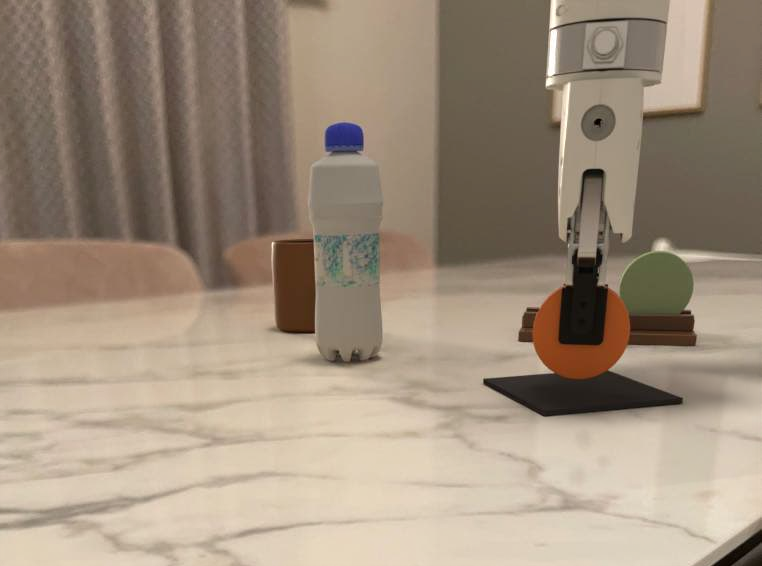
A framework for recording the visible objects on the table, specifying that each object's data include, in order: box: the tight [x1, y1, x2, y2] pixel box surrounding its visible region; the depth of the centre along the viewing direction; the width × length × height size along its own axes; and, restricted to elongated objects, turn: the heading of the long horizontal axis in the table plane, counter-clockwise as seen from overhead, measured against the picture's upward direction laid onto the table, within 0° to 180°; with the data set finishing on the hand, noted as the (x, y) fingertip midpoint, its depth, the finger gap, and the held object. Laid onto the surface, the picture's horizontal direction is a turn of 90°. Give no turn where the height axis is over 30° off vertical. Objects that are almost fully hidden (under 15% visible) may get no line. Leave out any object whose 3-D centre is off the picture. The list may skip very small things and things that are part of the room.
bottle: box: [307, 121, 384, 363], centre depth 76 cm, size 7×7×20 cm
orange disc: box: [532, 282, 630, 379], centre depth 63 cm, size 2×7×7 cm, turn 75°
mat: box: [482, 369, 684, 417], centre depth 65 cm, size 11×11×1 cm
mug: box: [271, 238, 316, 333], centre depth 95 cm, size 12×8×9 cm, turn 81°
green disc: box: [618, 250, 695, 314], centre depth 85 cm, size 2×7×7 cm, turn 75°
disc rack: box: [517, 306, 697, 347], centre depth 88 cm, size 9×17×2 cm, turn 75°
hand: (580, 339), depth 63 cm, fingers closed on orange disc, 1 cm apart
